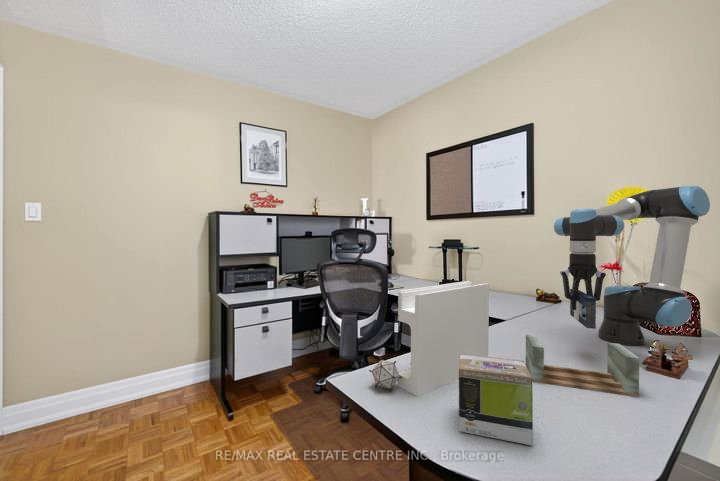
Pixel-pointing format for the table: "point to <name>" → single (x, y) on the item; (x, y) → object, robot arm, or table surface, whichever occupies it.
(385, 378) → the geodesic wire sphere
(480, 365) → the tea box
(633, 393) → the cassette cradle
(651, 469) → the table surface
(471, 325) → the block
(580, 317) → the vhs cassette tape
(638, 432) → the table surface
